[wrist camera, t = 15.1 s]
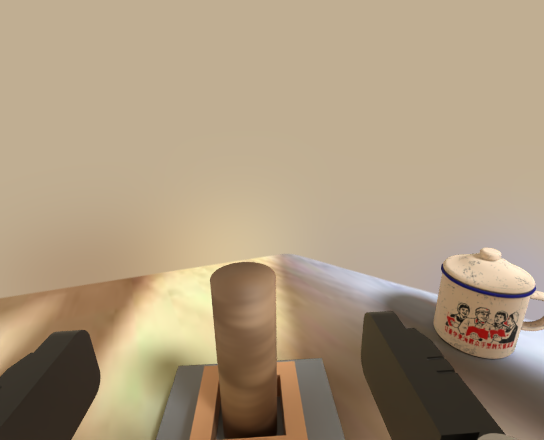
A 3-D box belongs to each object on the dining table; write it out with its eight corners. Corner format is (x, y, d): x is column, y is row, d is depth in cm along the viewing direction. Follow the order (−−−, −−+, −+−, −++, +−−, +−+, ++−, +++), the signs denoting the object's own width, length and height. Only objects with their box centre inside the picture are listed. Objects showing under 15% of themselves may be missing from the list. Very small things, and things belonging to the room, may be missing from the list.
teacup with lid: (434, 349, 35) (451, 260, 32) (428, 307, 43) (441, 232, 40) (563, 380, 31) (601, 281, 27) (531, 327, 39) (556, 244, 35)
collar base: (321, 373, 32) (322, 338, 31) (367, 548, 19) (374, 502, 18) (180, 381, 32) (175, 346, 30) (127, 569, 18) (114, 523, 17)
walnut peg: (275, 402, 27) (273, 261, 22) (279, 454, 23) (278, 292, 18) (226, 405, 27) (214, 263, 22) (221, 458, 22) (205, 296, 18)
